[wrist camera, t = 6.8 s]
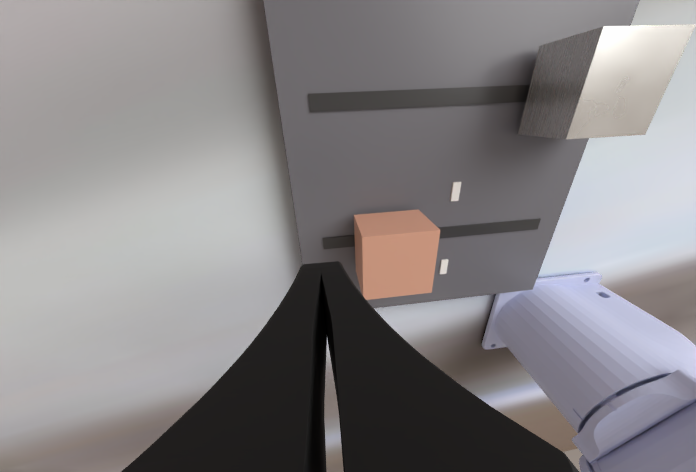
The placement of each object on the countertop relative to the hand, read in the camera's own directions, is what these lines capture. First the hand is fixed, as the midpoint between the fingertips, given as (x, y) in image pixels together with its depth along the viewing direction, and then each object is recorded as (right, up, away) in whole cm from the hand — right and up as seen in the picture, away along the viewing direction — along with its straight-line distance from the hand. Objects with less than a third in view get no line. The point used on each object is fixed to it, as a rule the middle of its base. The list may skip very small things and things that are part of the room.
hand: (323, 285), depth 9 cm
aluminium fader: (+12, +9, +4) cm, 16 cm away
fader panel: (+6, +6, +7) cm, 12 cm away
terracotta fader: (+3, +1, +7) cm, 8 cm away
